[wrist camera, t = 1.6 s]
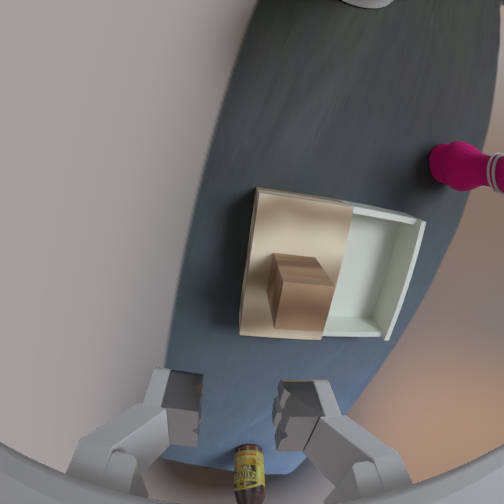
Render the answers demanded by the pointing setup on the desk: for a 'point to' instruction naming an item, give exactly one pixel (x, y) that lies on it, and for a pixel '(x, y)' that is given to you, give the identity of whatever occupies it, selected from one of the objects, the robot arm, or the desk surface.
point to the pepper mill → (466, 167)
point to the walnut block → (299, 293)
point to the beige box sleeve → (289, 250)
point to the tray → (374, 272)
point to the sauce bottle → (249, 475)
